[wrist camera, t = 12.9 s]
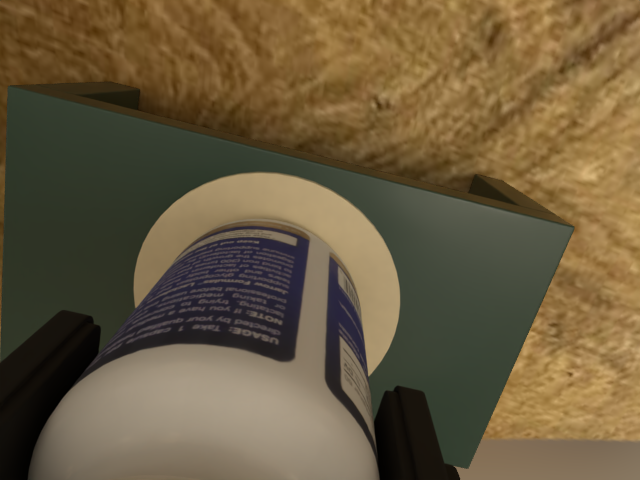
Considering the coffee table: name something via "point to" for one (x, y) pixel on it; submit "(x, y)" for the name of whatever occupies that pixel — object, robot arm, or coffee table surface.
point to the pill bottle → (226, 372)
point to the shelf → (282, 205)
